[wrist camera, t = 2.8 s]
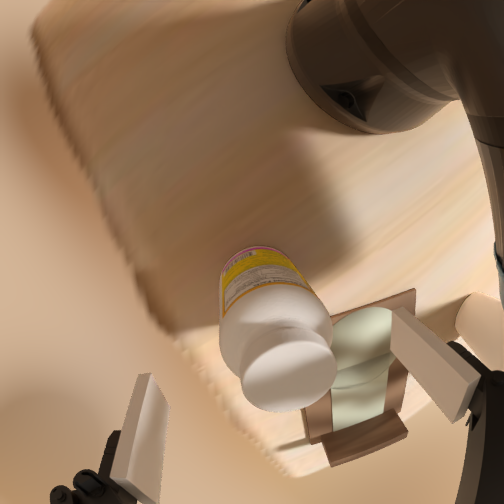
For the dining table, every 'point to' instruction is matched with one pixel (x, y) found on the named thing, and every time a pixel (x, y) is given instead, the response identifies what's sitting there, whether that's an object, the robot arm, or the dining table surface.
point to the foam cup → (483, 328)
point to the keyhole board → (362, 384)
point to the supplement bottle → (274, 331)
